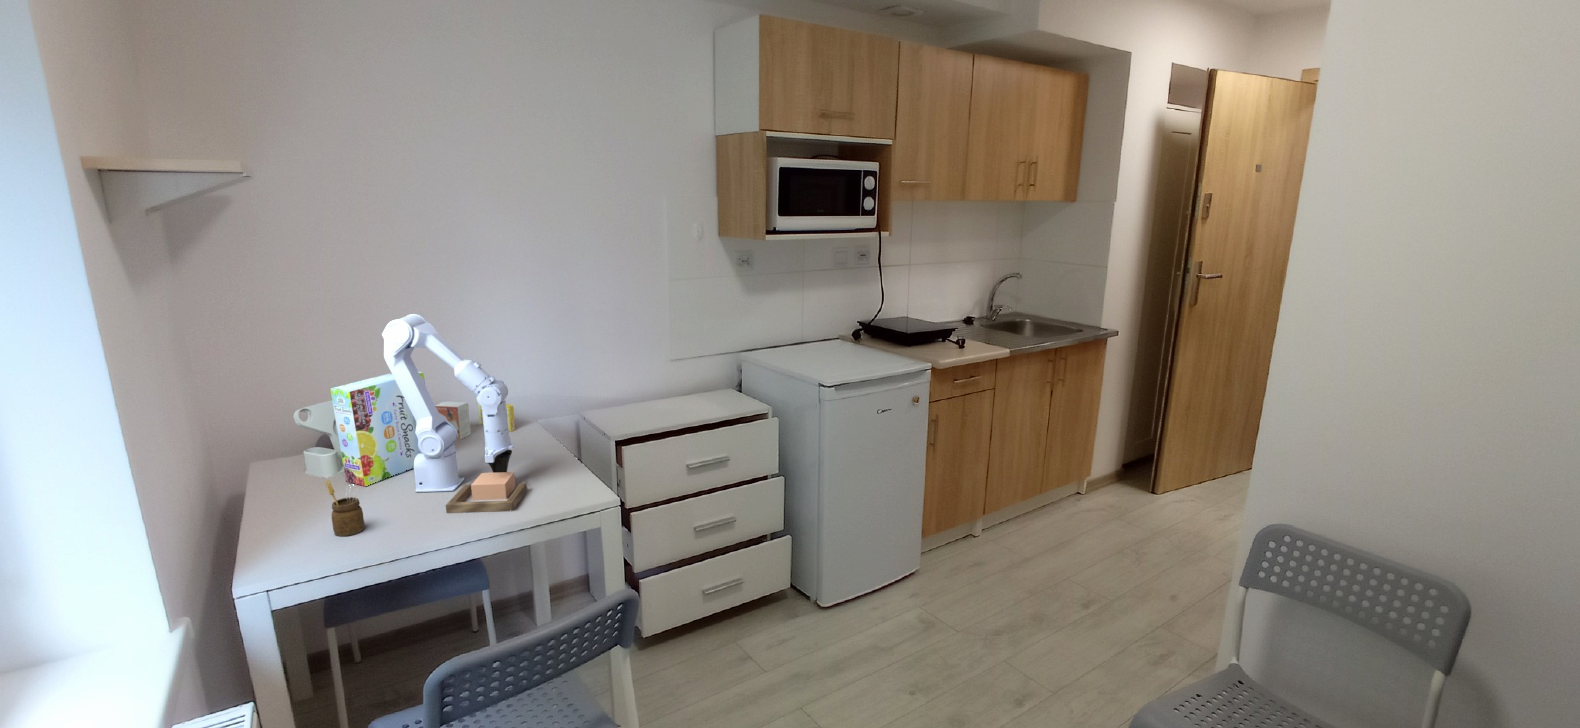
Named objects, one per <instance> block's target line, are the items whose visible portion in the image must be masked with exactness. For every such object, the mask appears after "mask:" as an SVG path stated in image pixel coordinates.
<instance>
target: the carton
mask: <svg viewBox="0 0 1580 728" xmlns="http://www.w3.org/2000/svg"><path fill="white" fill-rule="evenodd" d="M514 487H515V488H516V479H515V472H514V471H509V472H508V471H507V472H499V473H493V472H482V473H480V474H479V475H478V477H477V478H476V479H475V480H474V481H473V483H471V490H472V492H471V500H472V501H489V500H490V501H495V500H508V498H509V497H510V496H511V494H512V493H513V491H514V490H515V488H514ZM512 490H513V491H512Z"/></svg>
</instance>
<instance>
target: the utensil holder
mask: <svg viewBox="0 0 1580 728" xmlns="http://www.w3.org/2000/svg"><path fill="white" fill-rule="evenodd" d="M324 484H325V486H326V487H325V488H327V491H328V493H329V495H330V496H332V498H333V500H334V501H333V502H332V503H331V510H332V512H331V515H330V516H331V525H332V528H333V529H332V530H333V532H334V534H335V535H336V536H337V537H348V536H353V535H356V534H358V533H360V532H362V531H363V530H364V529H365V518H364V512H363V508H362V506H361V505H360V504H361V503H360V500H359V498H358V497H356V496H353V497H352V496H347V494H345V497H343V498H338V499H337V498H336V496H335V489H334V488H333V485H332V483H331V481H330V478H327V480H325V481H324ZM349 486H350V487H349ZM348 487H349V489H351V488H352V487H353V493H355V491H356V489H357V491H356V495H358V493H359V488H356V489H355V487H358V486H357V484H353V483H350V484H349V485H347V486H346V490H345V491H346V492H345V493H347V491H348ZM348 494H351V490H349V492H348Z"/></svg>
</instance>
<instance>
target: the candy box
mask: <svg viewBox="0 0 1580 728" xmlns="http://www.w3.org/2000/svg"><path fill="white" fill-rule="evenodd" d="M476 401H477V400H476ZM476 404H477V415H478V424H479V425H483V415H482V406H481V405H480V404H479V403H478V401H477V403H476ZM506 410H507V419H508V431H509V433H511V432H513V431H515V413H514V412H515V411H514V405H511V404H507V403H506ZM483 426H484V425H483Z"/></svg>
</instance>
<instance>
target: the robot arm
mask: <svg viewBox="0 0 1580 728" xmlns="http://www.w3.org/2000/svg"><path fill="white" fill-rule="evenodd" d="M381 336H382V338H383V358H384V360H385V363H386V365H387V367H388V368H389V371H390V373H392V375H393V377H394V379H395V381H396V382H397V384H398V386H399V388H400V390H401V392H402V394H403V396H404V398H405V400H406V402H407V404H408V406H409V408H410V410H411V412H412V414H413V416H414V418H415V420H416V422H417V425H416V432H415V433H416V436H417V438H418V447H419V450H420V451H421V453H420V454H417V456H416V457H415V460H414V468H413V471H414V472H413V473H414V481H415V490H414V491H415V493H427V492H429V493H430V492H435V493H436V492H454V491H455V490H456V489H457V488H458V487H459V486H460V485H461V484H462V483H463V482H464V481H465V477H459V472H458V464H457V463H458V461H457V453H456V447H455V443H456V442H457V437H458V433H457V430H456V428H455V427H454V426H453V425H451V424H450V423H449V422H448V420H447V418H446V417H445V416H444V415H442V414H440V413H439V412H438V411H437V409H436V407H435V405H436V404H435V403H434V401H433V399H432V396H431V395H430V392H429V390H428V389H427V386H426V384H425V385H424V382H423V380H422V378H421V376H420V374H419V372H420V371H418V369H417V366H416V365H415V363H414V361H413V359H412V357H411V356H412V354H413V351H414V349H415V348H421V349H428V350H429V352H432V353H433V354H434V355H435V356H436V357H437V358H439V359H440V360H442V362H444V363H446V364H447V365H448V366H449V367H451V368H452V369H453V370H454V371H453V373H454V377H455V379H457V380H458V381H459V382H460V383H461V384H463V385H464V386H465V387H466V388H467V389H468V390H469V391H471V392H472V393H473V394H474V395H476V401H478V403H479V404H480V405H481V406H482V415H483V433H484V444H485V446H484V450H485V454H484V461H485V463H487V464H488V465H489V466H490V468H491V471H492V473H499V472H508V467H509V463H510V458H511V456H512V454H513V449H514V448H515V447H516V446H515V443H511V436H510V431H508V419H507V410H506V404H507V402H506V401H507V400H506V398H507V397H508V393H509V389H508V386H507V385H506V384H505V383H504V381H503V380H500V379H496V377H495V376H491V375H490V374H489V373H488V372H487V371H485V369H483V368H482V367H481V366H482V364H481V363H480V362H479V361H475V360H473V359H464V357H463V356H461V354H459V353H458V351H456V349H454V347H453V346H452V345H450V344H449V342H448V341H446V339H444V337H442V336H441V335H440V333H438V331H437V330H436V329H435V327H434V325H433V324H431V323H430V322H428V321H426V319H425V318H424V317H423V316H422V315H420V314H416V313H412V314H411V313H410V314H408V315H406V316H403V317H401V318H398V319H397V318H396V319H393V320H391V321H389V322H388V323H387V324H386V326H385V328H384V329H383V331H382V333H381ZM478 403H477V404H478Z"/></svg>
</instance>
